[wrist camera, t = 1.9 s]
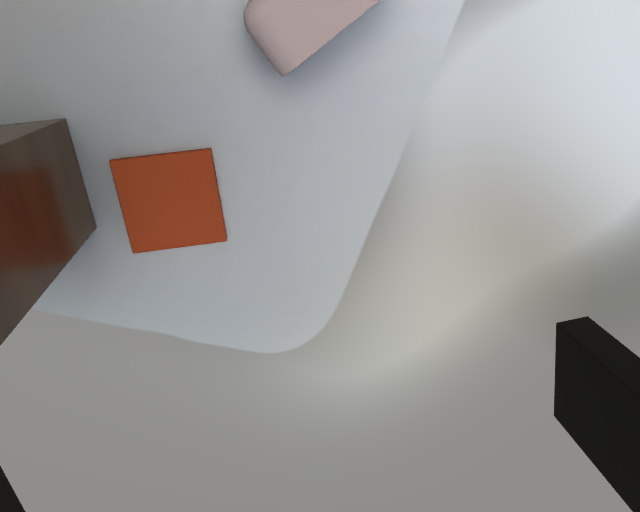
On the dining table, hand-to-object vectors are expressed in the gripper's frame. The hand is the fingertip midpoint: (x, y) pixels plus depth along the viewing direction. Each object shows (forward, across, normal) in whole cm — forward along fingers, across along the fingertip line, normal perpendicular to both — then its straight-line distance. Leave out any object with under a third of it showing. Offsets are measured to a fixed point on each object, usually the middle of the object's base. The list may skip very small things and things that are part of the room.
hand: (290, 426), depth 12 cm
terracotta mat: (+33, -8, -2) cm, 34 cm away
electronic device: (+33, +6, +11) cm, 35 cm away
